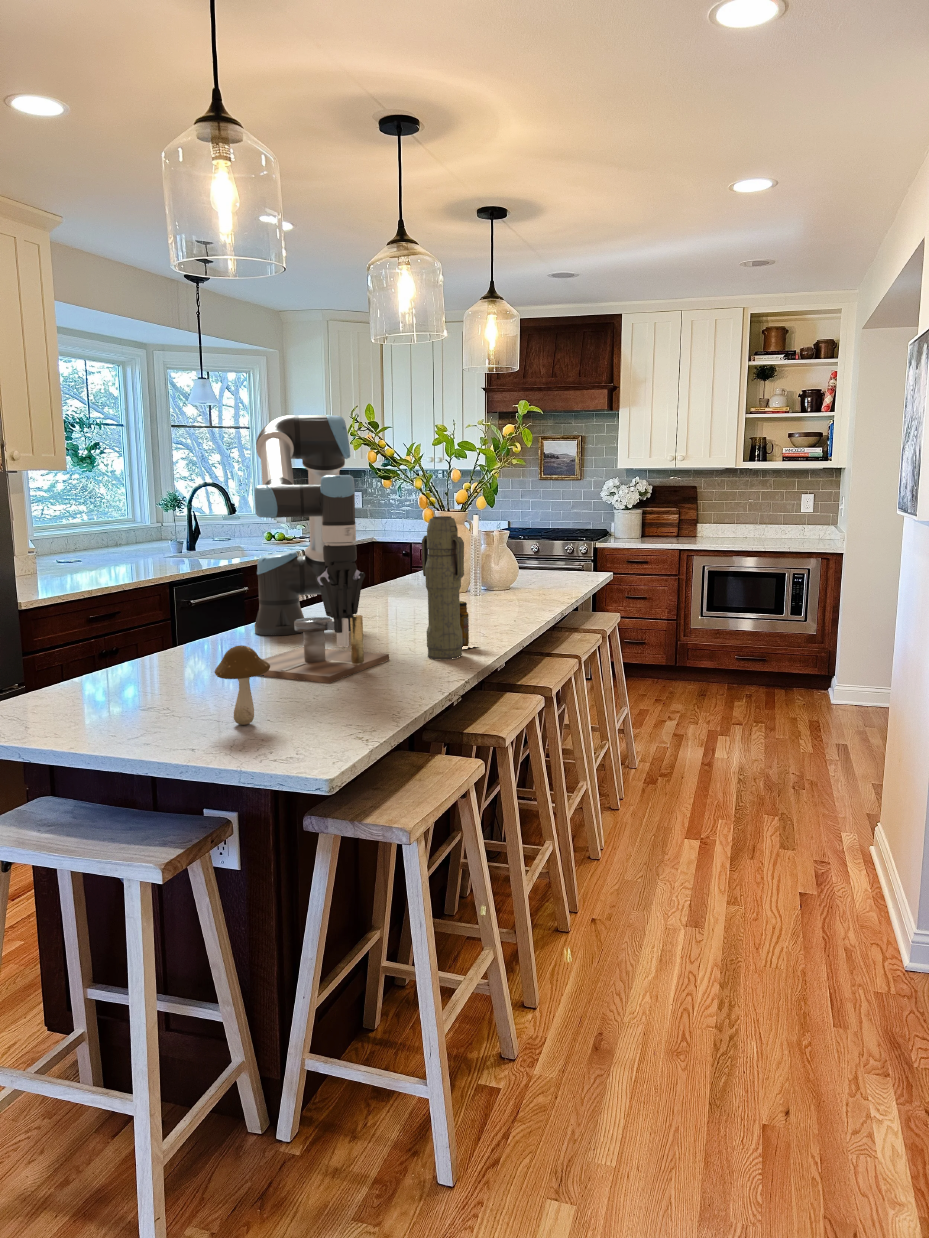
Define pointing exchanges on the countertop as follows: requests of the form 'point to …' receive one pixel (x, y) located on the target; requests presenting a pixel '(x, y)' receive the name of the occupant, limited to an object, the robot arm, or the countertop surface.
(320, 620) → the crank handle
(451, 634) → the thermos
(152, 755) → the countertop surface
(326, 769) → the countertop surface
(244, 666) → the mushroom
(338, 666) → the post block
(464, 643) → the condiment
